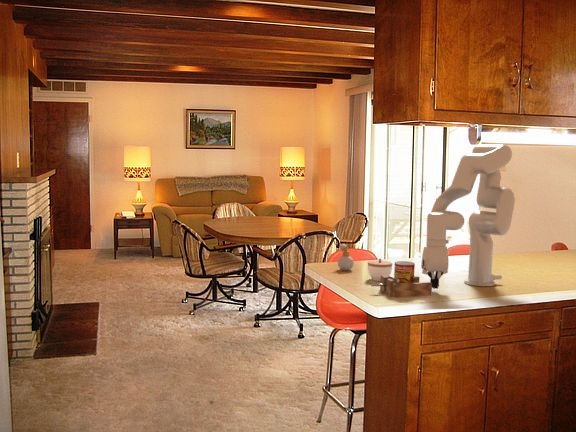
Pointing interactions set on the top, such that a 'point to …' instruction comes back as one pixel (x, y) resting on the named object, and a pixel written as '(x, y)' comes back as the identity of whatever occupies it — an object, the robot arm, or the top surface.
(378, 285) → the pusher
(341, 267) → the perfume bottle
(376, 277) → the lidded jar
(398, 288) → the brown wooden frame
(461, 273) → the top surface
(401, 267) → the canned food
